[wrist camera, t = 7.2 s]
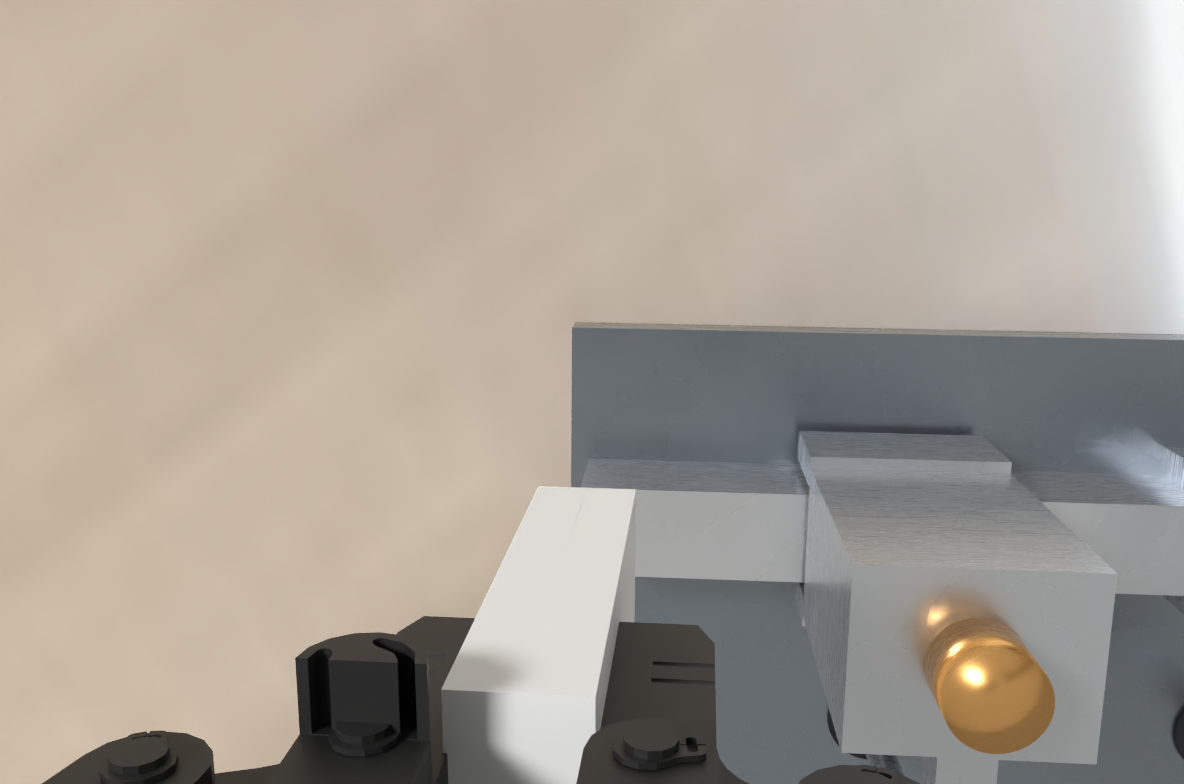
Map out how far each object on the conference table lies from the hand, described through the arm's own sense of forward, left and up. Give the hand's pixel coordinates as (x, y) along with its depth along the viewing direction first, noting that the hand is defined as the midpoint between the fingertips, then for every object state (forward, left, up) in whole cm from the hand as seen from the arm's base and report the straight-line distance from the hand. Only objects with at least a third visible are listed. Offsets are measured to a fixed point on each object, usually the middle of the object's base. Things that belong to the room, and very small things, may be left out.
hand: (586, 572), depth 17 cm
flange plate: (-9, +6, -16) cm, 20 cm away
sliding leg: (-7, +6, -15) cm, 17 cm away
